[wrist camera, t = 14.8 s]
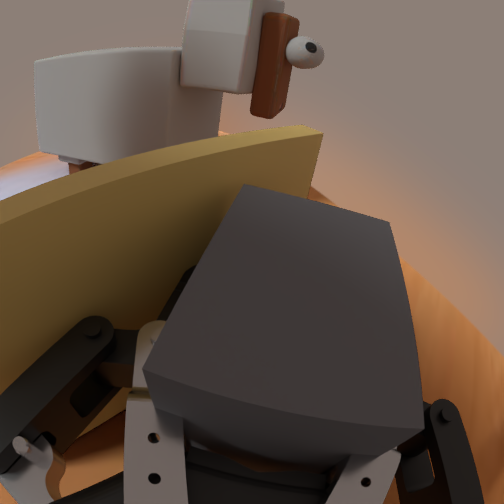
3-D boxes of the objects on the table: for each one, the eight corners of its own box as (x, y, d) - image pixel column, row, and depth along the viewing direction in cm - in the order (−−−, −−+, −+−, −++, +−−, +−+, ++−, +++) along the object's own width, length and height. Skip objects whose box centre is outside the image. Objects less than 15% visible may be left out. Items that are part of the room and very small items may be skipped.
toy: (272, 246, 25) (327, -15, 13) (42, 177, 29) (36, 10, 17) (296, 192, 33) (336, 12, 21) (99, 146, 37) (103, 7, 25)
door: (38, 460, 9) (-128, 298, 2) (14, 411, 10) (-111, 234, 4) (277, 303, 20) (323, 133, 13) (243, 277, 21) (272, 114, 14)
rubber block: (178, 470, 11) (142, 368, 5) (220, 353, 16) (244, 183, 10) (288, 496, 10) (424, 428, 4) (309, 375, 16) (389, 222, 10)
